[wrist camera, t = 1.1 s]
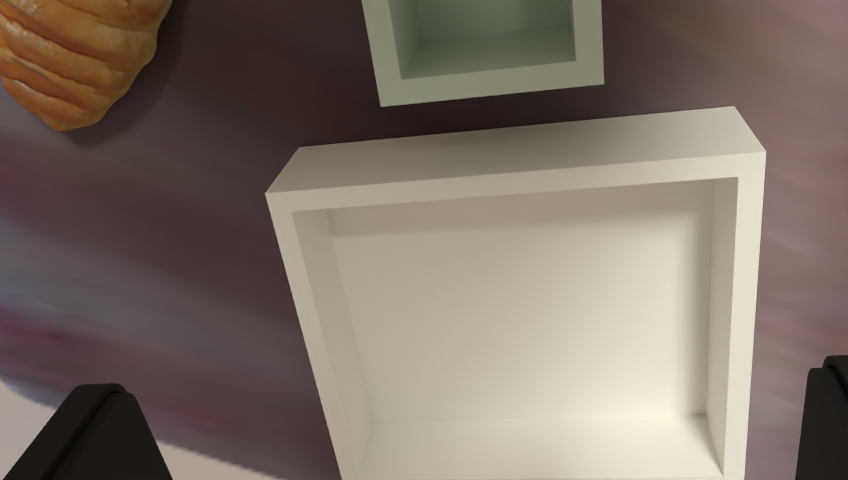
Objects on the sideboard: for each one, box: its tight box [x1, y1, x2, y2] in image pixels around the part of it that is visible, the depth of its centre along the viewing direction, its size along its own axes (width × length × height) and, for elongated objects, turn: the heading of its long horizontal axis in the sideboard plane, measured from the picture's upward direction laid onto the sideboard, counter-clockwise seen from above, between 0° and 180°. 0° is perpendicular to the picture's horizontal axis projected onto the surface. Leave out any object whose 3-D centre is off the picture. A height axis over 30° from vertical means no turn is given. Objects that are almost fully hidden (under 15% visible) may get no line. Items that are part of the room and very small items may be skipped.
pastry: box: [0, 0, 172, 131], centre depth 28 cm, size 9×7×4 cm
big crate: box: [265, 106, 766, 480], centre depth 31 cm, size 15×17×4 cm
